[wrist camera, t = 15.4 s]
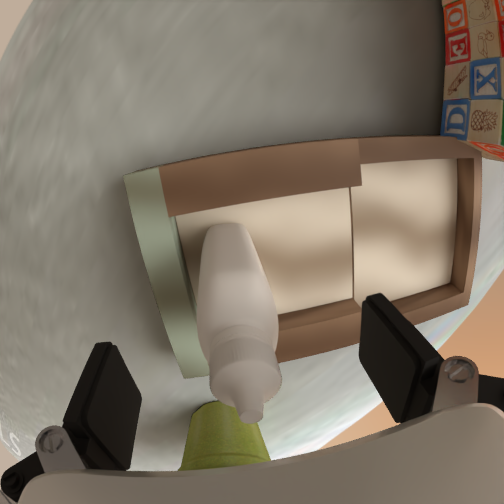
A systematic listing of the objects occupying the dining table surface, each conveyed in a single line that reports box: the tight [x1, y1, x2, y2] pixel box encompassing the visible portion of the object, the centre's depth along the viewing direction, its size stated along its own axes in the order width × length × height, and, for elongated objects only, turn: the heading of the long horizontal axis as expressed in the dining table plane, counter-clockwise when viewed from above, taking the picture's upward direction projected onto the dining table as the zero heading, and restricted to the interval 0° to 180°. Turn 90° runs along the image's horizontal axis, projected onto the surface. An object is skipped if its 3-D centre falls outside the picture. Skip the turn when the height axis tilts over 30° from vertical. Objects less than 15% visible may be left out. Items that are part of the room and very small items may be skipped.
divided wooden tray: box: [123, 135, 482, 379], centre depth 19 cm, size 14×24×3 cm, turn 99°
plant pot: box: [178, 401, 271, 471], centre depth 22 cm, size 9×9×9 cm
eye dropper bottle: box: [197, 223, 282, 424], centre depth 14 cm, size 4×6×12 cm
